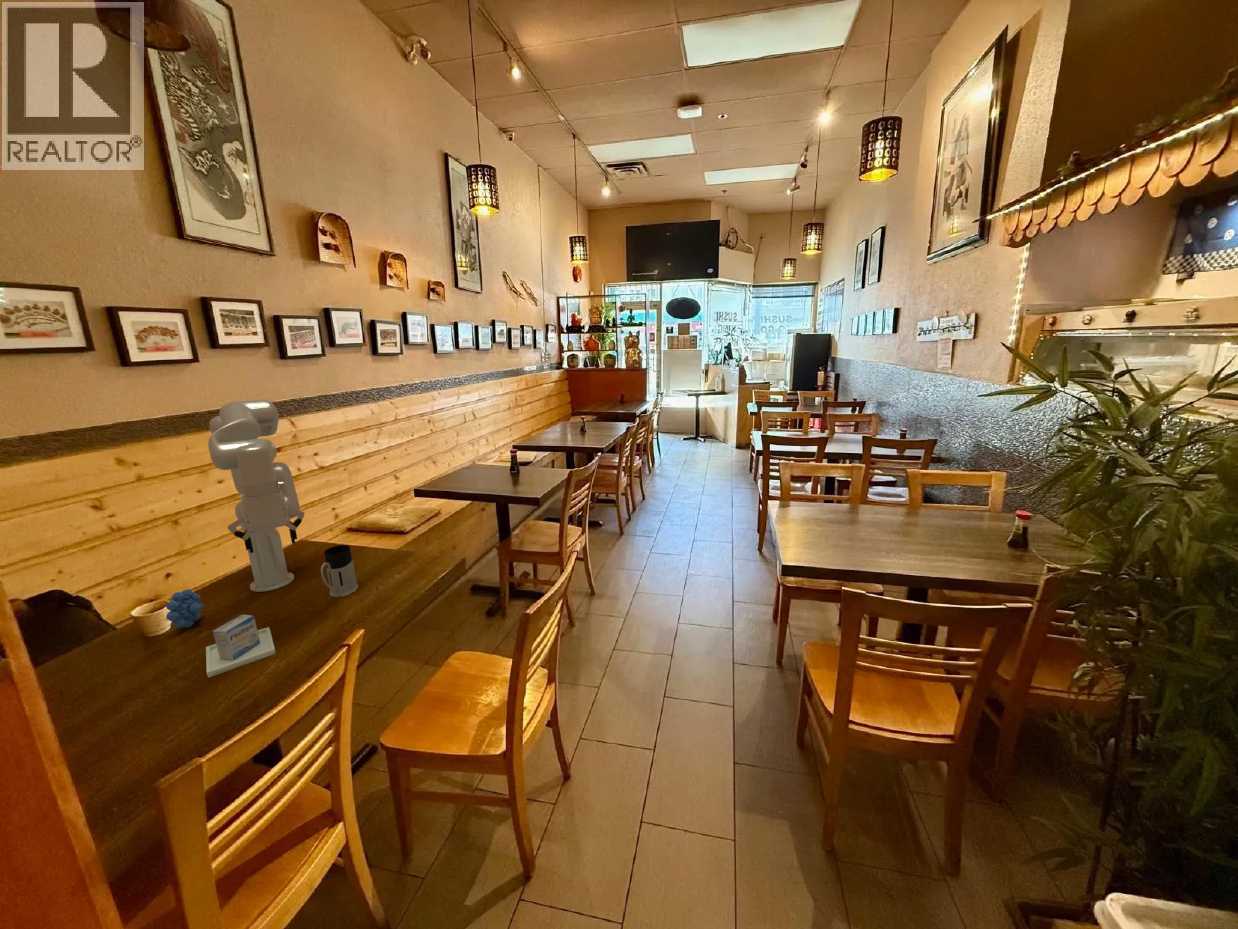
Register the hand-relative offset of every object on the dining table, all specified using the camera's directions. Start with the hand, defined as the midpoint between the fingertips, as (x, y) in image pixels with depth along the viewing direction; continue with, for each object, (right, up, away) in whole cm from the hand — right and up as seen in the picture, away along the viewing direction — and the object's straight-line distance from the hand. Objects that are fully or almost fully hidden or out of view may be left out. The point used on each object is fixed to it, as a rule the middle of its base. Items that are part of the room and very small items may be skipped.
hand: (273, 546), depth 132 cm
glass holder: (+5, -20, +24) cm, 32 cm away
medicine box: (-5, -28, -5) cm, 28 cm away
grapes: (-29, -25, +7) cm, 39 cm away
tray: (-5, -28, -5) cm, 29 cm away
